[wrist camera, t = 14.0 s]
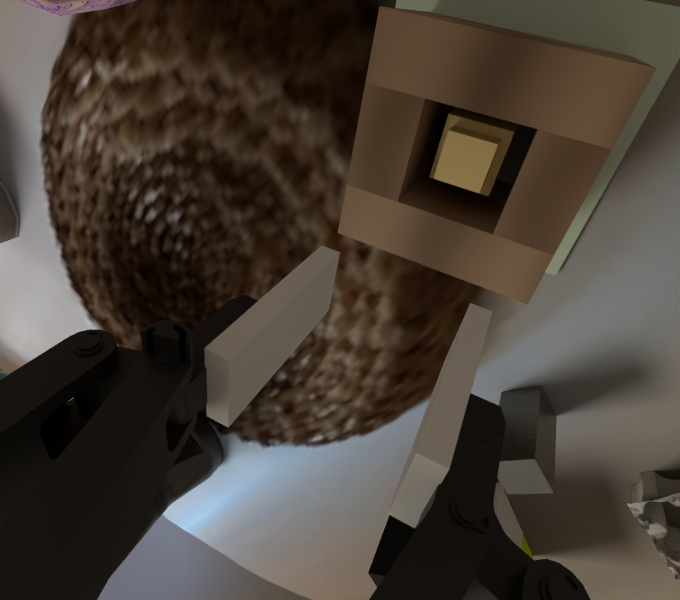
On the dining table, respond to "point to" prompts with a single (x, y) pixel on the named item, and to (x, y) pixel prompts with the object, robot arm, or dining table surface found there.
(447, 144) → the square base plate
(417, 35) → the hollow square sleeve
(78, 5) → the bowl of food
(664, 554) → the grey piece
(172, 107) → the dining table surface
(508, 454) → the stand post
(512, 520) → the puzzle toy
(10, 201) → the can
